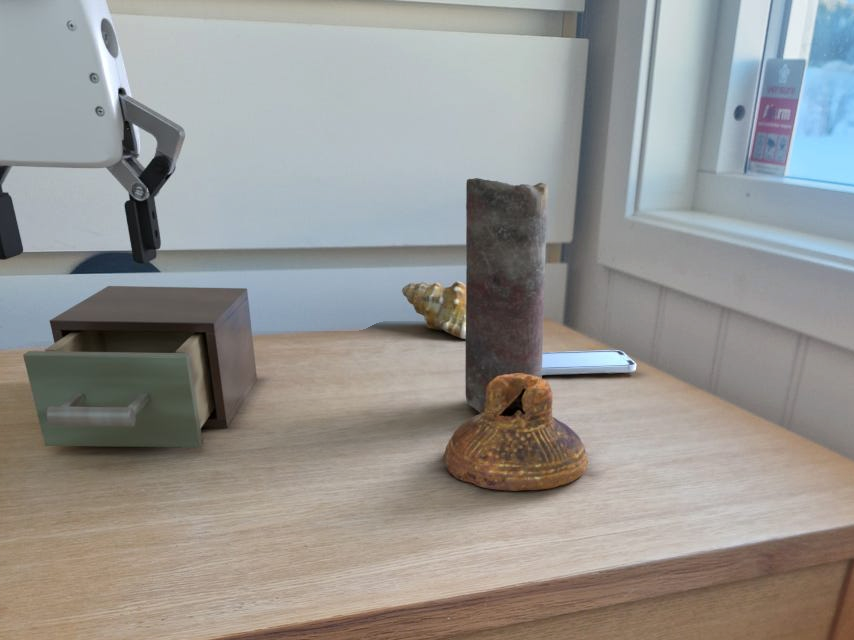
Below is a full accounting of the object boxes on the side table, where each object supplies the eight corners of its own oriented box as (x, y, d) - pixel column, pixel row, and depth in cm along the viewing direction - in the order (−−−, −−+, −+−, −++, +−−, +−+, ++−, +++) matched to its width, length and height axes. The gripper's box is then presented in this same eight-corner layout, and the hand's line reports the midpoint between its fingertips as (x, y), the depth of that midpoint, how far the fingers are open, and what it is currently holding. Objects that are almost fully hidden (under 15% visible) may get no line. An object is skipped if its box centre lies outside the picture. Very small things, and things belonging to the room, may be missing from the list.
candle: (451, 401, 87) (452, 175, 77) (515, 393, 90) (525, 173, 80) (486, 424, 82) (493, 182, 71) (554, 414, 85) (570, 181, 74)
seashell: (425, 365, 111) (390, 288, 108) (439, 360, 118) (406, 288, 115) (491, 333, 108) (457, 253, 105) (501, 330, 115) (469, 255, 113)
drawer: (182, 473, 67) (166, 376, 63) (16, 471, 67) (-10, 374, 63) (234, 395, 84) (224, 316, 80) (102, 394, 84) (86, 314, 80)
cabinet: (227, 428, 79) (213, 322, 74) (72, 426, 78) (49, 320, 74) (257, 380, 92) (247, 288, 87) (125, 378, 92) (107, 285, 87)
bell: (616, 471, 72) (626, 382, 68) (509, 507, 65) (513, 410, 62) (518, 434, 80) (522, 351, 76) (413, 462, 73) (411, 373, 69)
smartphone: (493, 353, 101) (620, 349, 103) (493, 362, 101) (620, 358, 103) (503, 370, 95) (638, 365, 96) (503, 379, 95) (637, 374, 97)
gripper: (177, -29, 57) (212, 254, 66) (-92, -39, 57) (-20, 247, 66) (141, -45, 51) (185, 271, 60) (-162, -56, 51) (-72, 264, 60)
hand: (78, 258), depth 63 cm, fingers open, 9 cm apart
